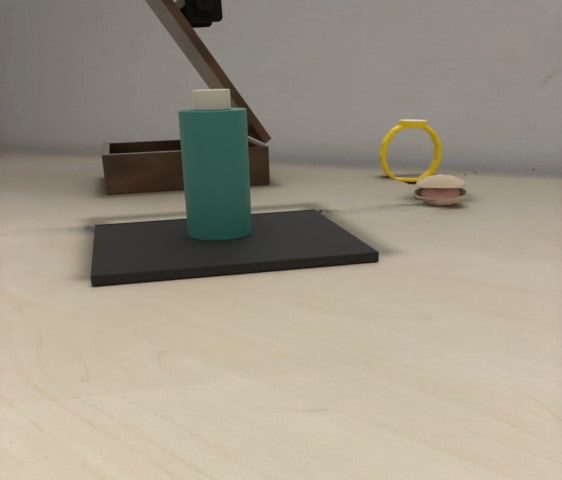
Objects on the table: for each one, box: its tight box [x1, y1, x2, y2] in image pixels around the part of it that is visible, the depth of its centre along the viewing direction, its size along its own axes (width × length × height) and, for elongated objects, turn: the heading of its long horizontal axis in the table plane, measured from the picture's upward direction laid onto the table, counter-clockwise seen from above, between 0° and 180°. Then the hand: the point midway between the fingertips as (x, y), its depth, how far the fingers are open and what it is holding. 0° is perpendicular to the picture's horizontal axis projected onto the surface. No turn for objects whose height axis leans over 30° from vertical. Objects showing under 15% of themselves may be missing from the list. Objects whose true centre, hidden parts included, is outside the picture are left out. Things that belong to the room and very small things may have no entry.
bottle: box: [177, 88, 252, 241], centre depth 47 cm, size 4×4×9 cm
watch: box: [378, 118, 442, 183], centre depth 70 cm, size 6×3×6 cm, turn 97°
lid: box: [144, 0, 272, 145], centre depth 68 cm, size 16×12×6 cm
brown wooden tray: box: [101, 136, 271, 196], centre depth 71 cm, size 15×12×4 cm
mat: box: [90, 208, 380, 287], centre depth 49 cm, size 17×17×1 cm
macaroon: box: [413, 173, 468, 207], centre depth 59 cm, size 4×5×2 cm
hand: (200, 22), depth 66 cm, fingers closed on lid, 6 cm apart
